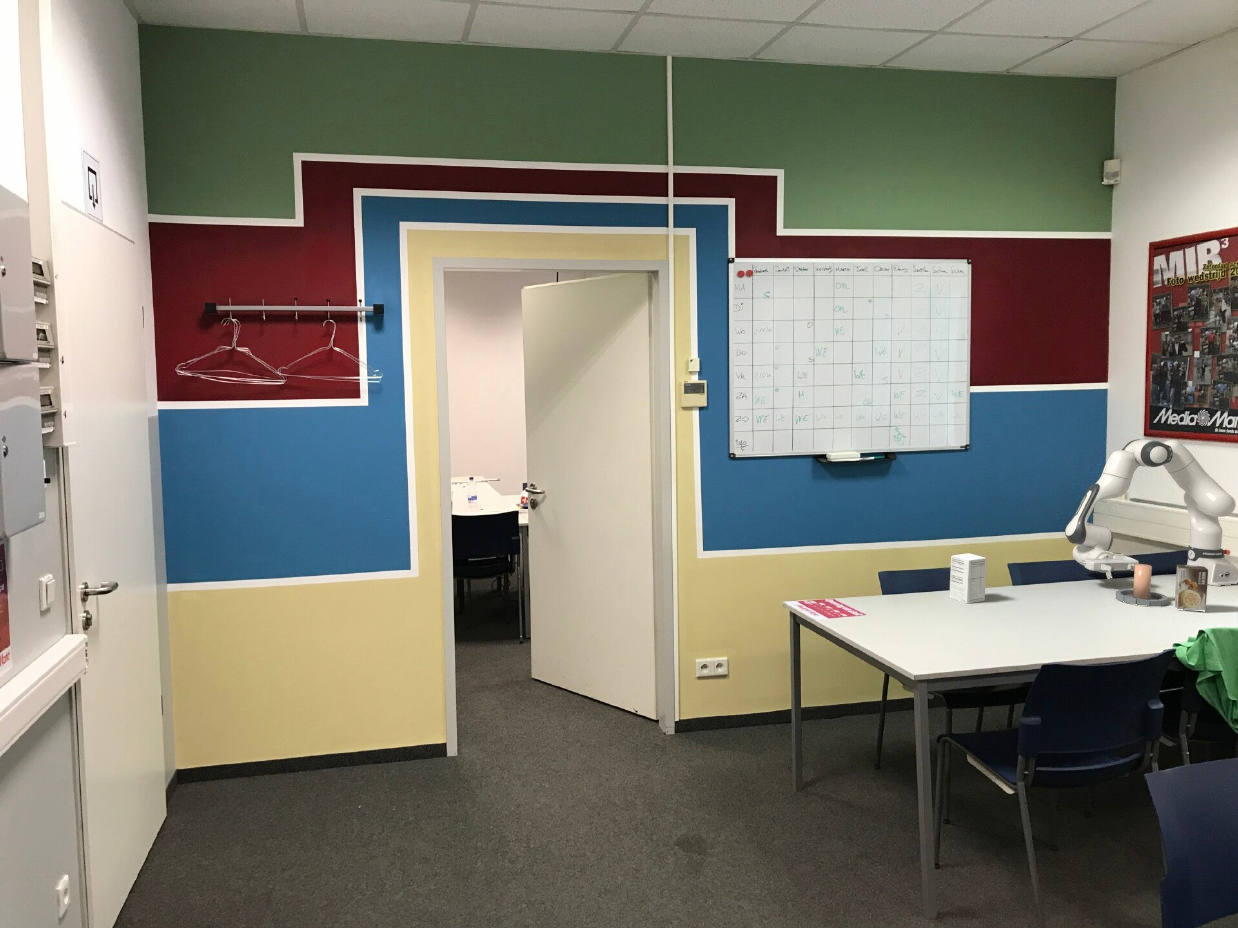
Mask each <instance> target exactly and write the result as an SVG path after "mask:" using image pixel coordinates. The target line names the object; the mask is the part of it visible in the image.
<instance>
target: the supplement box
mask: <svg viewBox="0 0 1238 928" xmlns="http://www.w3.org/2000/svg"><path fill="white" fill-rule="evenodd" d="M987 560H988V559H987V557H984V556H980V555H976V554H973V553H970V552H969V553H963V554H962V553H961V554H954V555H951V556H950V574H949V575H950V577H949V579H950V580H949V599H951V600H954V601H958V602H960V603H965V604H973V603H980V602H984V601H986V600H985V597H986V584H987V583H986V581H987V580H986V578H987Z"/></svg>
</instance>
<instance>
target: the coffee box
mask: <svg viewBox="0 0 1238 928" xmlns="http://www.w3.org/2000/svg"><path fill="white" fill-rule="evenodd" d="M1175 575H1176V577H1175V579H1176V580H1175V589H1174V590H1175V595H1174V605H1175V606H1174V607H1175V609H1176V608H1177V609H1183V610H1207V597H1208V596H1207V595H1208V584H1207V583H1208V569H1207V568H1205V567H1204V566H1192V565H1187V564H1176V574H1175ZM1177 609H1176V610H1177Z"/></svg>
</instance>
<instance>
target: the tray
mask: <svg viewBox="0 0 1238 928" xmlns="http://www.w3.org/2000/svg"><path fill="white" fill-rule="evenodd" d="M1115 596H1116V597H1115V600H1116V599H1117V600H1116V601H1119V600H1120V601H1119V602H1121V601H1124V602H1127V603H1126V604H1128V603H1132V604H1137V605H1136V606H1138V605H1147V606H1146V607H1148V606H1161V607H1164V606H1163V605H1165V606H1168V602H1169V601H1168V600H1169V599H1168V597H1167V595H1164V594H1162V593H1159V592H1156V591H1155V592H1154V591H1151V590H1150V600H1145V599H1136V598H1133V589H1132V588H1128V589H1127V588H1125V589H1122V588H1121V589H1118V590H1115ZM1124 602H1123V603H1124ZM1132 604H1131V605H1132Z"/></svg>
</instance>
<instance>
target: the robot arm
mask: <svg viewBox="0 0 1238 928" xmlns="http://www.w3.org/2000/svg"><path fill="white" fill-rule="evenodd" d="M1161 466H1163V468H1165V470H1166V471H1167V473H1168V474H1169V475H1170V476H1171V478H1172V479H1173V480H1174V482H1175V483H1176V485H1177V486H1178V487H1179V488H1180V489H1182V490H1183V491H1184V494H1183V500H1184V504H1186V507H1187V512H1188V518H1189V522H1190V536H1189V537H1190V538H1189V545H1188V547H1187V563H1186V565H1192V566H1204V567H1205V568H1207V569H1208V583H1207V585H1210V586H1215V587H1216V586H1217V587H1221V585H1225V586H1232V585H1231V584H1235V583H1238V567H1237V566H1236V565H1234V563H1232V562H1231V561H1229V560H1228V559H1227V558H1226V557H1225V555H1226V556H1230V554H1231V552H1232V551H1231V550H1229V549H1223V548H1222V543H1223V527H1222V526H1221V523H1220V520H1219V518H1220V517H1221V518H1222V517H1227V516H1229V515H1231V514H1232V513H1233V512H1234V511H1235V509H1236V506H1237V505H1236V501H1235V499H1234V497H1233V496H1232V495H1231V494H1230V493H1228V492H1227V491H1226V490H1225V489H1224V488H1223V487H1222V486H1221V485H1220V484H1219V483H1218V482H1217V481H1216V480H1215V479H1214V478H1212V477H1211V476H1210V475H1209V474H1208V473H1207V472H1206V470H1205V469H1204V468H1203V466H1201V463H1199V461H1198V460H1197V459H1196V457H1195V456H1194V455H1193V453H1191V451H1190V450H1188V448H1187V447H1186V446H1185V445H1183V443H1181V442H1180V441H1179V440H1176V439H1168V440H1165V441H1163V442H1162V441H1158V440H1154V439H1153V440H1151V439H1141V438H1140V439H1139V438H1138V439H1133V440H1131V441H1129V442H1127V443H1126V444H1125V446H1124V447H1123V448H1122V449H1119V450H1115V451H1113V452H1112V453H1110V456H1109V457H1108V459H1107V461H1106V463H1105V465H1104V468H1103V471H1102V473H1101V476H1100V477H1099V479H1098V480H1097V481H1096V483H1093V484H1091V485H1090V486H1089V487H1088V488H1087V490H1086V492H1085V494H1084V495H1083V497H1082V499H1081V501H1080V503H1079V505H1078V507H1077V508H1076V511H1075V513H1074V514H1073V516H1072V517H1071V519H1070V520H1069V522H1068V523H1067V525H1066V526H1065V529H1064V533H1065V537H1066V540H1067V541H1068V542H1069V543H1070V544H1074V545H1075V546H1074V547H1073V549H1072V557H1073V559H1074V560H1075V562H1077V563H1079V564H1080V565H1081V566H1084V568H1085V569H1087V570H1089V571H1092V572H1093V571H1095V572H1100V573H1102V574H1103V573H1104V574H1105V573H1108V572H1114V571H1132V572H1135V564H1140V561H1139V560H1137V559H1135V558H1132V557H1130V556H1128V555H1127V556H1126V555H1125V553H1122V552H1113V551H1112V552H1111V551H1110V550H1111V548H1112V546H1113V542H1114V537H1113V533H1112V531H1111V529H1110V528H1109V527H1106V526H1102V525H1099V524H1095V523H1092V522H1088V521H1089V518H1090V516H1091V514H1092V513H1093V511H1094V509H1095V506H1096V505H1097V504H1098V503H1099V502H1101V501H1103V500H1104V501H1105V500H1109V499H1117V498H1120V497H1122V496H1124V495H1125V494H1126V493H1127V492H1128V491H1129V488H1130V486H1131V482H1132V480H1133V476H1134V473H1135V472H1136V470H1137V469H1138V468H1139V467H1147V468H1149V467H1150V468H1158V467H1161Z"/></svg>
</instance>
